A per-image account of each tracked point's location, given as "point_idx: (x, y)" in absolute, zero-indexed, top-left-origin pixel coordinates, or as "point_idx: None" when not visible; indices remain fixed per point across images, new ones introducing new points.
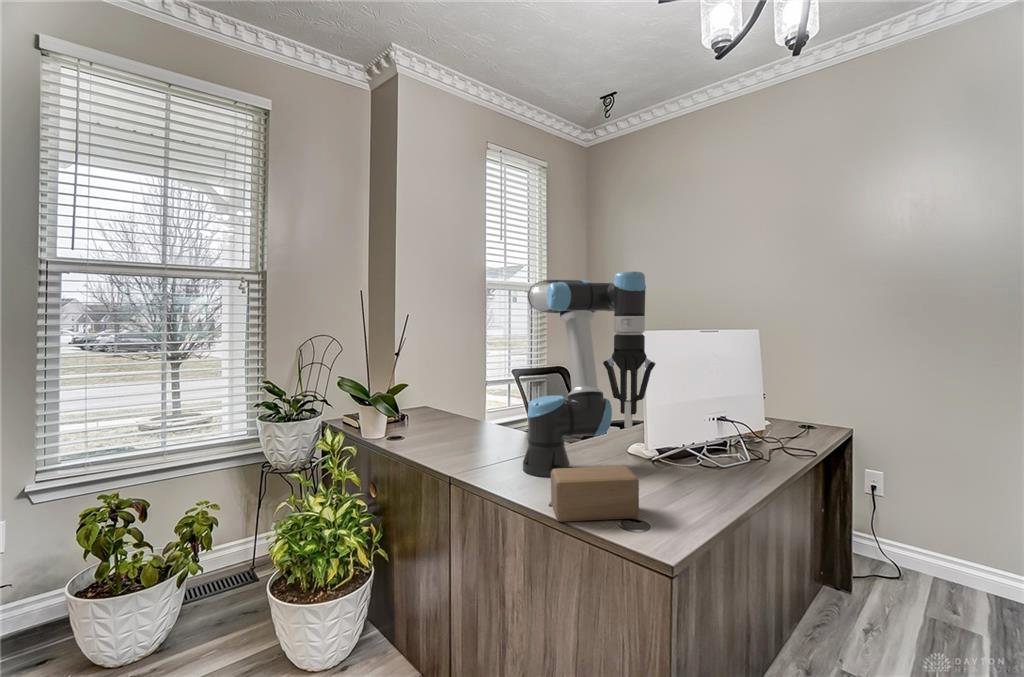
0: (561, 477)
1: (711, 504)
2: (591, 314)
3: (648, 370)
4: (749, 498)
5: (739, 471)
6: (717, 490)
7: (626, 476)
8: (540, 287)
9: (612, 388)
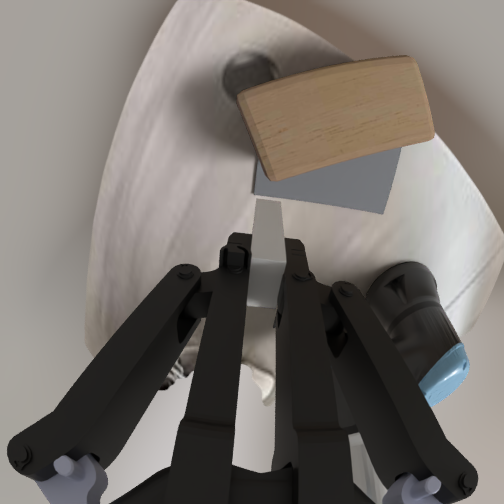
0: (412, 79)
1: (135, 210)
2: None
3: (58, 424)
4: (97, 248)
5: None
6: (136, 268)
7: (266, 99)
8: None
9: (376, 326)
